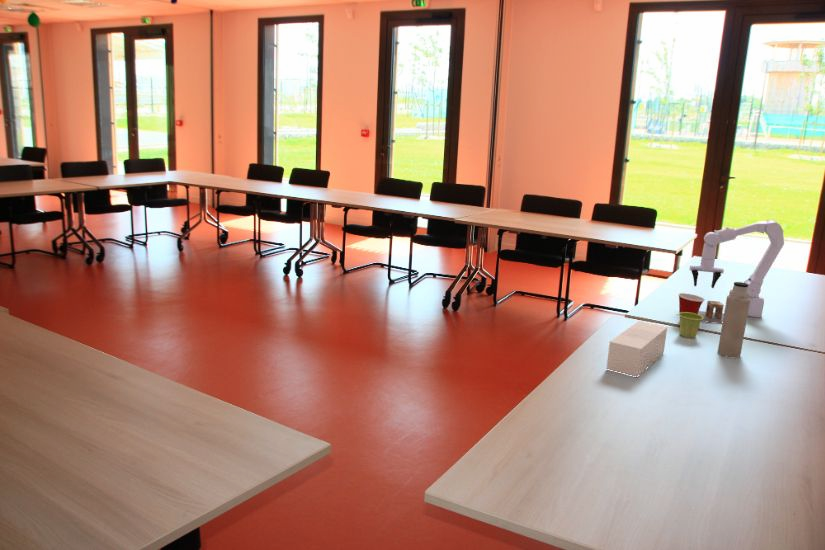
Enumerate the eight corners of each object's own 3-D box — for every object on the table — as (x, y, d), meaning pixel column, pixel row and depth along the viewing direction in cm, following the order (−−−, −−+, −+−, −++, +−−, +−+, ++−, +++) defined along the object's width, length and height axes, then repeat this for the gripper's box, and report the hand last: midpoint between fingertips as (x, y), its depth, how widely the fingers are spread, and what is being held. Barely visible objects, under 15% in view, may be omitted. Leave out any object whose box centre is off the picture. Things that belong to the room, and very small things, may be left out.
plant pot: (700, 334, 285) (703, 314, 283) (699, 341, 277) (702, 320, 275) (676, 330, 289) (679, 310, 287) (674, 336, 281) (677, 316, 278)
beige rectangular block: (636, 378, 234) (640, 348, 232) (606, 370, 240) (609, 341, 238) (663, 354, 260) (667, 327, 258) (635, 347, 266) (638, 320, 263)
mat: (728, 314, 316) (728, 314, 316) (736, 325, 301) (736, 324, 301) (691, 311, 319) (691, 310, 319) (697, 321, 304) (698, 320, 304)
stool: (717, 315, 313) (719, 301, 311) (721, 319, 308) (723, 304, 306) (705, 314, 313) (707, 300, 311) (709, 318, 308) (711, 304, 306)
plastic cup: (704, 327, 296) (709, 300, 293) (679, 325, 296) (683, 298, 293) (695, 319, 307) (699, 293, 304) (670, 317, 307) (674, 291, 304)
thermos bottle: (716, 349, 268) (728, 279, 262) (739, 352, 266) (751, 282, 259) (718, 355, 261) (730, 284, 254) (741, 359, 259) (754, 286, 252)
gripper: (723, 258, 322) (718, 286, 325) (690, 255, 324) (685, 283, 328) (726, 261, 315) (721, 290, 318) (692, 258, 318) (688, 286, 321)
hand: (703, 286), depth 323 cm, fingers open, 7 cm apart
